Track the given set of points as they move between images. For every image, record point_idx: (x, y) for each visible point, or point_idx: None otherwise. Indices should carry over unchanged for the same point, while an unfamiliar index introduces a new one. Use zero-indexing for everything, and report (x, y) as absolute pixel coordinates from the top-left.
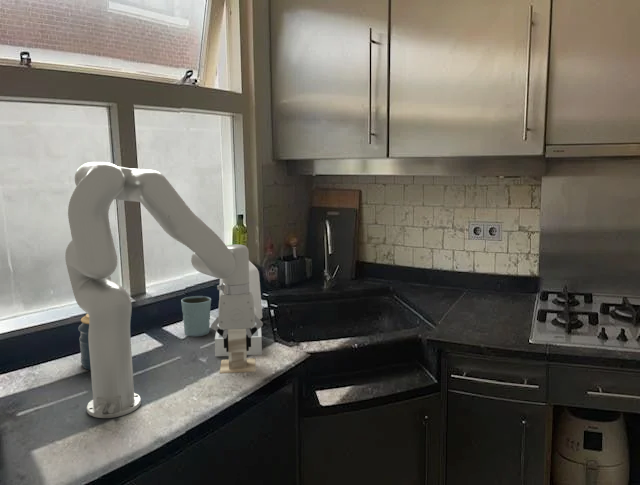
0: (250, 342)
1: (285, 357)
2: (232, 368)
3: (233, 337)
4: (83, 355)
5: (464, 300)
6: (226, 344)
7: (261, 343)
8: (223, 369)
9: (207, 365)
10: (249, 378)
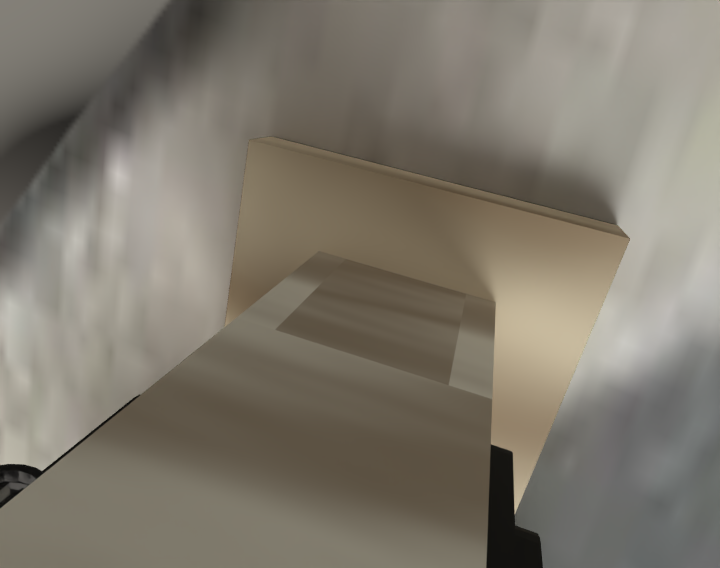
0: None
1: (19, 406)
2: (459, 294)
3: (347, 562)
4: None
5: None
6: (509, 532)
7: None
8: (555, 320)
9: (630, 551)
10: (334, 112)
